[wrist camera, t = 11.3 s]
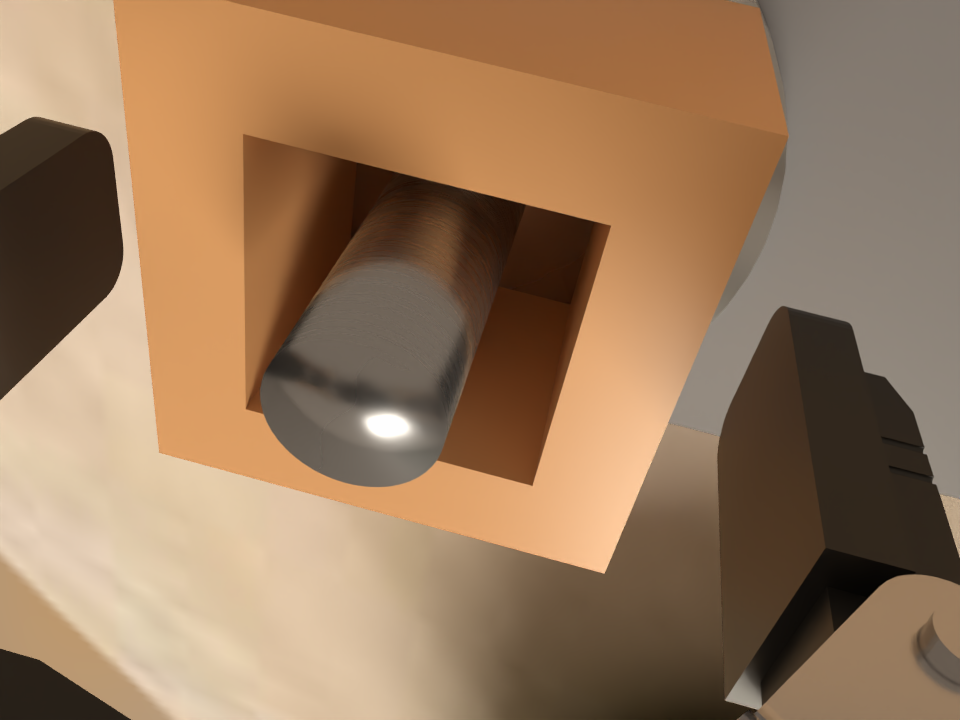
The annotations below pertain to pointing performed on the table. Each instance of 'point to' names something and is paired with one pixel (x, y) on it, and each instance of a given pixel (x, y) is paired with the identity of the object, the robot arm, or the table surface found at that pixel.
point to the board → (860, 211)
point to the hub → (425, 316)
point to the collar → (464, 164)
